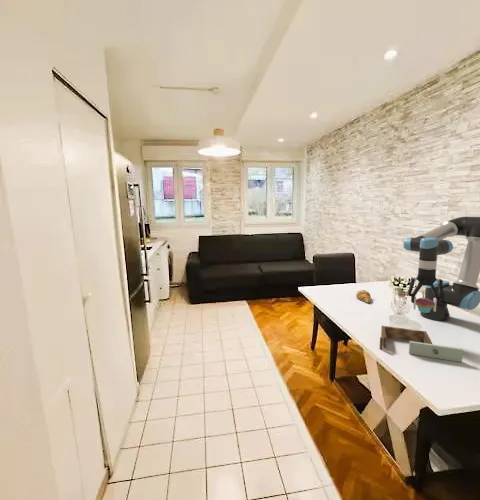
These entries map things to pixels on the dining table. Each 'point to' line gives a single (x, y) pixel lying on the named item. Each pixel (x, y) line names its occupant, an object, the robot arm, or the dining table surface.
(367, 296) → the croissant
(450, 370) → the dining table surface
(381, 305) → the dining table surface
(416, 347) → the grey flat panel
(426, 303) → the cupcake
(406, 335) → the holder
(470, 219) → the robot arm
